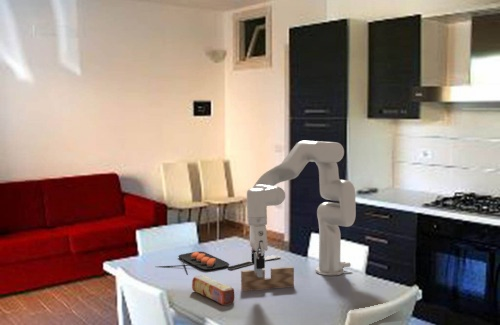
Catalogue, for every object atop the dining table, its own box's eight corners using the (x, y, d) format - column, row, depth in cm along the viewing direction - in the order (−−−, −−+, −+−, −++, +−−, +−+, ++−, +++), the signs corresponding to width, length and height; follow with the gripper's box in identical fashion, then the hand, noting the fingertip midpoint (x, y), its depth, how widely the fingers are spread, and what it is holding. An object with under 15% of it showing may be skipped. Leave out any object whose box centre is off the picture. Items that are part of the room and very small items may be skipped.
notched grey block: (254, 272, 208) (253, 252, 207) (258, 271, 209) (257, 252, 208) (258, 277, 202) (258, 257, 201) (262, 276, 203) (262, 256, 202)
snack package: (236, 303, 201) (236, 285, 200) (222, 307, 197) (222, 289, 196) (204, 288, 217) (204, 272, 216) (190, 292, 213) (190, 276, 212)
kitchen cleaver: (268, 253, 268) (282, 255, 260) (268, 256, 268) (282, 258, 260) (219, 265, 247) (232, 267, 240) (219, 268, 247) (232, 271, 240)
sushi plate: (232, 268, 246) (232, 260, 246) (173, 280, 229) (173, 271, 229) (201, 254, 270) (201, 247, 270) (146, 264, 253) (146, 256, 253)
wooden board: (292, 285, 220) (292, 266, 219) (293, 286, 219) (293, 267, 218) (241, 289, 215) (241, 270, 214) (242, 291, 213) (242, 271, 213)
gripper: (272, 224, 195) (273, 271, 198) (260, 215, 212) (261, 258, 214) (253, 226, 194) (254, 273, 196) (242, 216, 210) (243, 260, 212)
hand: (258, 265), depth 205 cm, fingers closed on notched grey block, 6 cm apart
